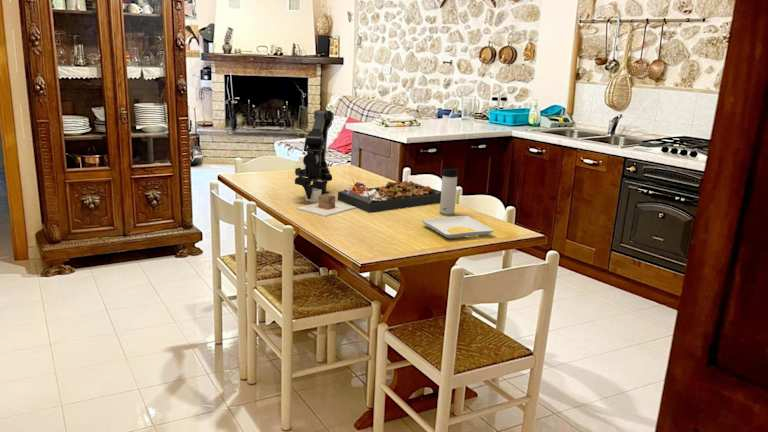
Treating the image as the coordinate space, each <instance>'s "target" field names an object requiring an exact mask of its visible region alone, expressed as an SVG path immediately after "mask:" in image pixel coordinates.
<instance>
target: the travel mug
mask: <svg viewBox="0 0 768 432" xmlns="http://www.w3.org/2000/svg"><path fill="white" fill-rule="evenodd" d="M458 171H459V170H458V169H457V168H447V169H445V168H444V169H442V179H441V190H440V191H441V201H440V203H439V205H440V206H439V214H440V215H441V214H442V215H441V216H444V215H453V216H454V215H455V207H456V198H457V197H456V196H457V184H458Z"/></svg>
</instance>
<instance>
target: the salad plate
mask: <svg viewBox="0 0 768 432" xmlns="http://www.w3.org/2000/svg"><path fill="white" fill-rule="evenodd" d="M421 222H422V224H423V225H425V226H426V227H427V228H429V229H430V230H431V229H432V230H433V231H434V230H435V231H434V232H436V233H438V234H439V233H440V234H439V235H441V236H442V237H445V238H447V239H457V238H456V237H465V236H476V235H483V236H486V235H490V234H491V233H493V232H494V229H493V228H492V227H489V226H487V225H485V224H484V223H482V222H480V221H479V220H476V219H474V218H473V217H470V216H468V215H458V216H457V215H456V216H454V215H453V216H441V217H433V218H432V217H431V218H424V219H423V218H422V219H421ZM453 227H465V228H470V229H472V230H473V229H474V230H475V231H476V232H465V233H457V234H451V233H449V232H448V231H447V230H449V229H448V228H450V229H451V228H453ZM476 237H477V236H476ZM465 238H466V237H465Z"/></svg>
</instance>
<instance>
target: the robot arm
mask: <svg viewBox="0 0 768 432" xmlns="http://www.w3.org/2000/svg"><path fill="white" fill-rule="evenodd" d="M313 114H314V115H313V117H314V118H313V119H314V122H313V125H312V130H310V131H308V133H307V135H306V137H305V139H304V147H303V152H306V154H305V155H304V157H303V159H302V162H303V165H304V166H305V167H304V168H301V167H297V168H295V170H294V173H295V176H298V177H295V179H294V185H298V186H302V188H303V189H304V192H305V193H306V195H307V198H308V199H310V198H311V194H312V189H313V188H316V189H321V190H322V192H321V195H323V194H330V193H329V192H330V191H329V190H327V188H328V187H327V184H328V182H330V181H331V182H332V181H333V175H332V174H331V172H330V169H329V165H328V164H327V161H326V156H327V155H326V154H327V143H328V133H329V129H330V128H331V127H332V125H333V122H334V119H335V113H334V112H332V110H327V109H316V110H314V113H313Z"/></svg>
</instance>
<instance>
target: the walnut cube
mask: <svg viewBox="0 0 768 432" xmlns="http://www.w3.org/2000/svg"><path fill="white" fill-rule="evenodd" d="M335 202H336V195H333V194H330V193H325V194H321V195H319V200H318V201H317V203H318V207H320V208H324V209H330V208H334V207H335Z"/></svg>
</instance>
